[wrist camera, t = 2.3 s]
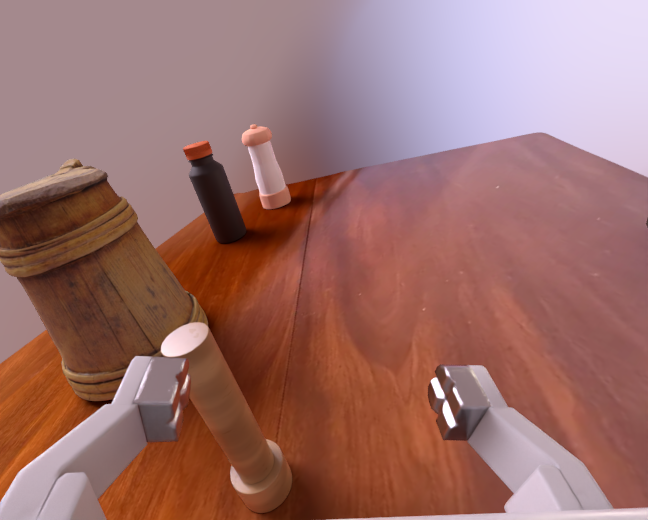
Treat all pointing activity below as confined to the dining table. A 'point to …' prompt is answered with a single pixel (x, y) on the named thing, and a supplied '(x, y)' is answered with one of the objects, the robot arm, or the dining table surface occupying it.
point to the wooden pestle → (231, 419)
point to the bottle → (214, 193)
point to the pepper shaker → (266, 168)
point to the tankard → (91, 276)
